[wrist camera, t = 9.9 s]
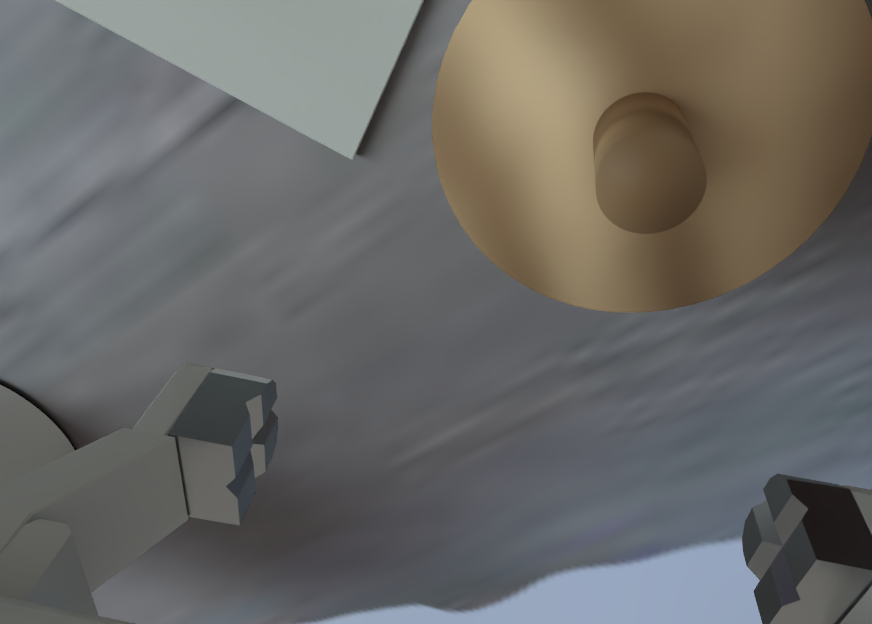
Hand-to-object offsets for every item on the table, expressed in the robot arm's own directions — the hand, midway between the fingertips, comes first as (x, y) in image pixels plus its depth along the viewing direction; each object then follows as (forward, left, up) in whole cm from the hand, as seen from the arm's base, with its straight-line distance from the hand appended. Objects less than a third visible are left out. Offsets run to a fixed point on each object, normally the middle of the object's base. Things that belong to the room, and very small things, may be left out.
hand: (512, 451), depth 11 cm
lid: (+2, -3, -16) cm, 16 cm away
